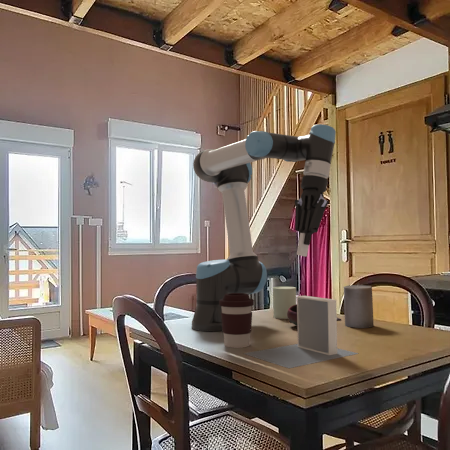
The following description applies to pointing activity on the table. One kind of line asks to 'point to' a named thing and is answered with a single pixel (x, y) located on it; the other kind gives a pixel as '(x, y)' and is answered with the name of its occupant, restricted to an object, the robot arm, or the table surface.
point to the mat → (295, 356)
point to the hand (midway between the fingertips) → (301, 255)
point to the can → (283, 301)
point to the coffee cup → (236, 319)
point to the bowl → (292, 314)
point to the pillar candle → (358, 306)
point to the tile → (317, 324)
